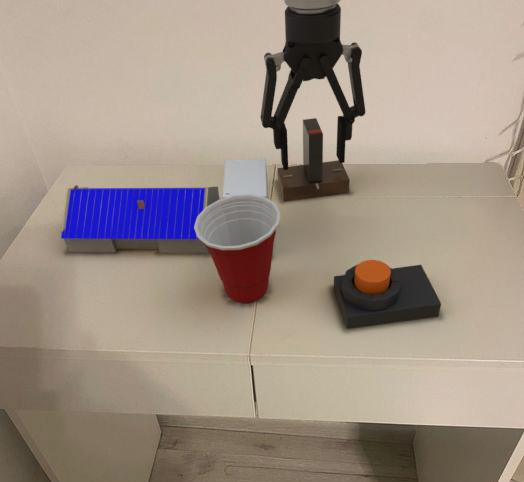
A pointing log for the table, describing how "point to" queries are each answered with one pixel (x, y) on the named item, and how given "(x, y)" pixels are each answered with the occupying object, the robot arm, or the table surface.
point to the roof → (134, 218)
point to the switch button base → (387, 298)
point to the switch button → (372, 277)
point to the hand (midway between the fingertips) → (312, 162)
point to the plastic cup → (240, 243)
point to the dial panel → (299, 187)
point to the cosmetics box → (245, 177)
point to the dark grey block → (312, 150)
